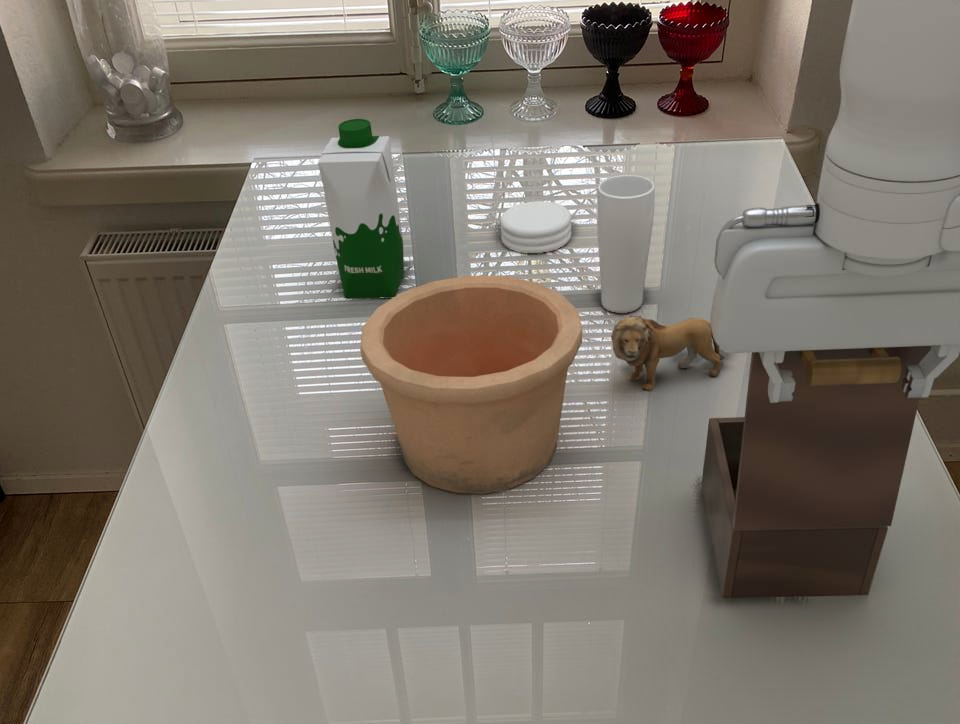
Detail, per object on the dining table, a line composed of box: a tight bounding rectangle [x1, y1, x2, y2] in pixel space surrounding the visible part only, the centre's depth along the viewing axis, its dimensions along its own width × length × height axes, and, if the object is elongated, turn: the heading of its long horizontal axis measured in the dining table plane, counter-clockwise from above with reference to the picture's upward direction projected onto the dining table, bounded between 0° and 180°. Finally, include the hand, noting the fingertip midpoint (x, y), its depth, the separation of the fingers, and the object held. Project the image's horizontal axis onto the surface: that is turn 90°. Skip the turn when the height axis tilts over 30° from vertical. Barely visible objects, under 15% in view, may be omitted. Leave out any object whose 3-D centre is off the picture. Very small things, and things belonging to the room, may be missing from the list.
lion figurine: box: [610, 315, 725, 392], centre depth 111 cm, size 15×5×9 cm, turn 113°
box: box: [700, 416, 889, 599], centre depth 91 cm, size 17×13×9 cm
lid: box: [733, 346, 932, 530], centre depth 74 cm, size 17×13×5 cm
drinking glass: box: [596, 174, 655, 314], centre depth 122 cm, size 7×7×15 cm
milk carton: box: [317, 118, 405, 299], centre depth 128 cm, size 9×9×20 cm
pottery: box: [359, 275, 583, 495], centre depth 102 cm, size 22×22×14 cm
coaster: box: [500, 200, 572, 254], centre depth 140 cm, size 10×10×4 cm
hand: (846, 396), depth 71 cm, fingers open, 8 cm apart
